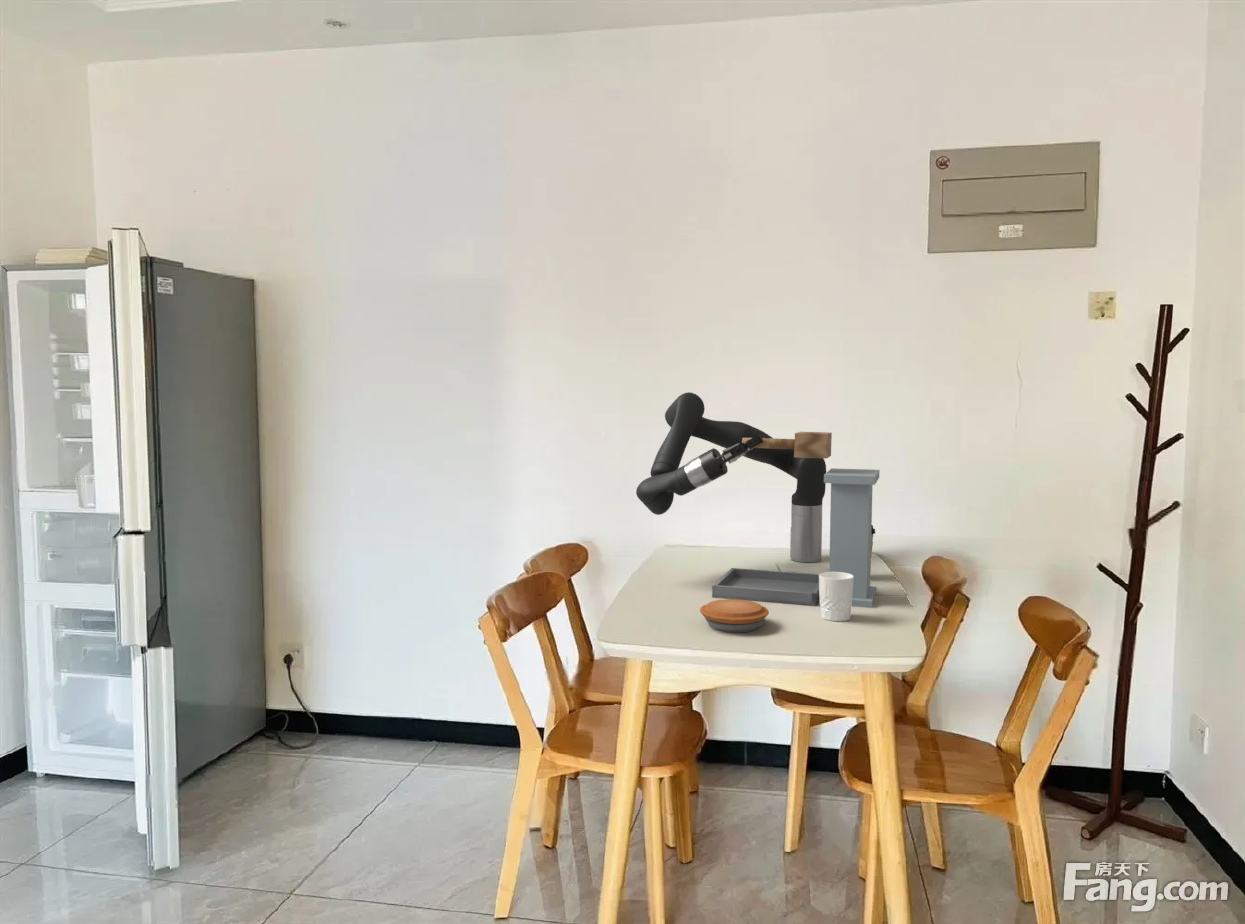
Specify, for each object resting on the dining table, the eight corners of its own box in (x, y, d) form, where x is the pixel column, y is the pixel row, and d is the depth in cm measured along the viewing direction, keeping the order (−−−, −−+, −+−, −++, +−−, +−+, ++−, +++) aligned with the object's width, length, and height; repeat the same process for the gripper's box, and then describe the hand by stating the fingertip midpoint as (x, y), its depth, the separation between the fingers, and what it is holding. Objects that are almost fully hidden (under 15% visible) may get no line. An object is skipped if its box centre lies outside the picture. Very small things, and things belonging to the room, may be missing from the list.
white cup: (854, 614, 205) (855, 573, 204) (851, 623, 198) (852, 580, 197) (820, 611, 207) (820, 570, 207) (816, 620, 200) (816, 577, 199)
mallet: (739, 455, 222) (739, 431, 222) (746, 452, 231) (746, 430, 230) (826, 458, 215) (827, 434, 214) (830, 455, 223) (831, 432, 223)
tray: (712, 597, 222) (712, 585, 221) (731, 578, 242) (731, 567, 242) (815, 606, 213) (815, 594, 212) (826, 585, 233) (827, 574, 233)
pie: (780, 632, 191) (781, 610, 191) (715, 638, 187) (715, 615, 187) (751, 614, 206) (751, 593, 206) (690, 619, 202) (690, 598, 201)
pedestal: (821, 603, 215) (823, 474, 212) (829, 588, 230) (831, 468, 227) (871, 607, 211) (875, 476, 208) (876, 592, 226) (879, 469, 223)
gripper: (692, 458, 224) (750, 426, 218) (705, 453, 237) (760, 423, 231) (705, 484, 223) (764, 452, 218) (718, 477, 237) (774, 448, 231)
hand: (762, 437), depth 224 cm, fingers closed on mallet, 2 cm apart
